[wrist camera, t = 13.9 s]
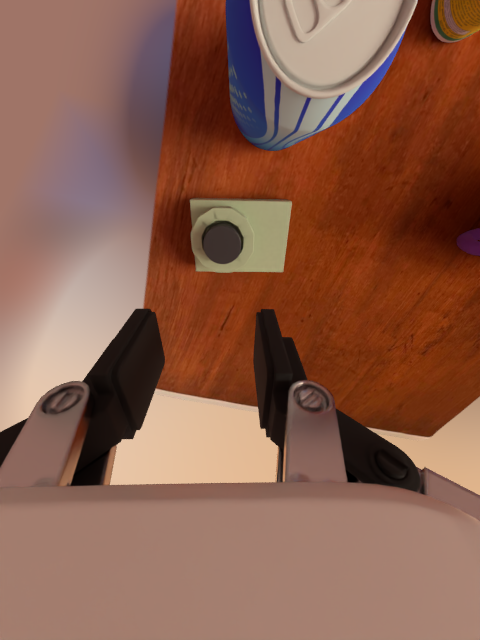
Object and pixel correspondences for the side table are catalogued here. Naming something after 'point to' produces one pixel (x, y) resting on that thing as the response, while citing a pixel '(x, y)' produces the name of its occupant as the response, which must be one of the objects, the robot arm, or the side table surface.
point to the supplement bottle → (454, 19)
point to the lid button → (222, 243)
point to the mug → (470, 241)
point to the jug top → (243, 232)
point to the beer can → (307, 62)
